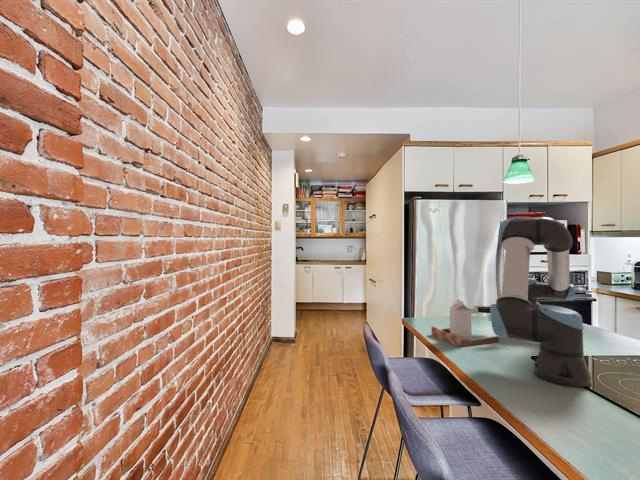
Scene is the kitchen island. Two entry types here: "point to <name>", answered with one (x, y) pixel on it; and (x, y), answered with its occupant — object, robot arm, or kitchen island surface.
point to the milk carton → (460, 321)
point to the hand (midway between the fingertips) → (477, 314)
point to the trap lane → (456, 341)
